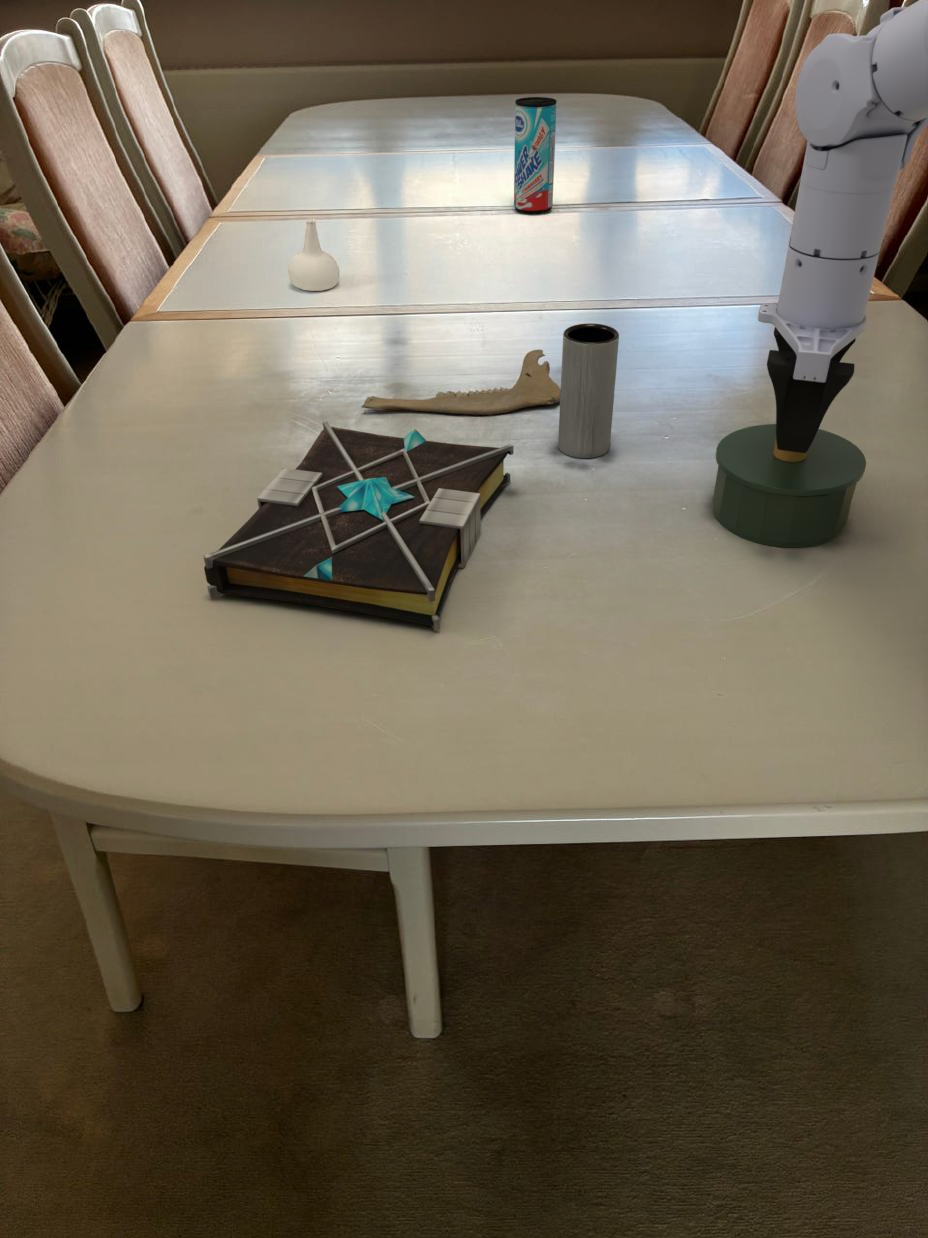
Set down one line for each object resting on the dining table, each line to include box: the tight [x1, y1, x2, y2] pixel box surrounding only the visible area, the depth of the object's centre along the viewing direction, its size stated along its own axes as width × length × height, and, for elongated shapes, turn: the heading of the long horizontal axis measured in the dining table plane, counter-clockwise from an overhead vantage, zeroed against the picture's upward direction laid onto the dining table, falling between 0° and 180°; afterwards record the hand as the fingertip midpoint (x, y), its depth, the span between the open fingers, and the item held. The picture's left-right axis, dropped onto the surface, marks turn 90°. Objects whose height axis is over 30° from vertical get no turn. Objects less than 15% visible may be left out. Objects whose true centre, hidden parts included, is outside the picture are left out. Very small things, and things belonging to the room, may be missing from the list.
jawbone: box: [360, 349, 561, 416], centre depth 91 cm, size 9×20×2 cm, turn 119°
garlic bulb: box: [287, 218, 340, 292], centre depth 118 cm, size 6×6×8 cm
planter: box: [557, 323, 620, 459], centre depth 81 cm, size 4×4×10 cm
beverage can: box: [513, 96, 558, 216], centre depth 142 cm, size 6×6×15 cm
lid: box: [715, 423, 867, 496], centre depth 71 cm, size 11×11×6 cm
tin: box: [711, 465, 857, 549], centre depth 74 cm, size 10×10×4 cm
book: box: [202, 420, 514, 632], centre depth 72 cm, size 22×17×5 cm
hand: (793, 435), depth 71 cm, fingers open, 4 cm apart
